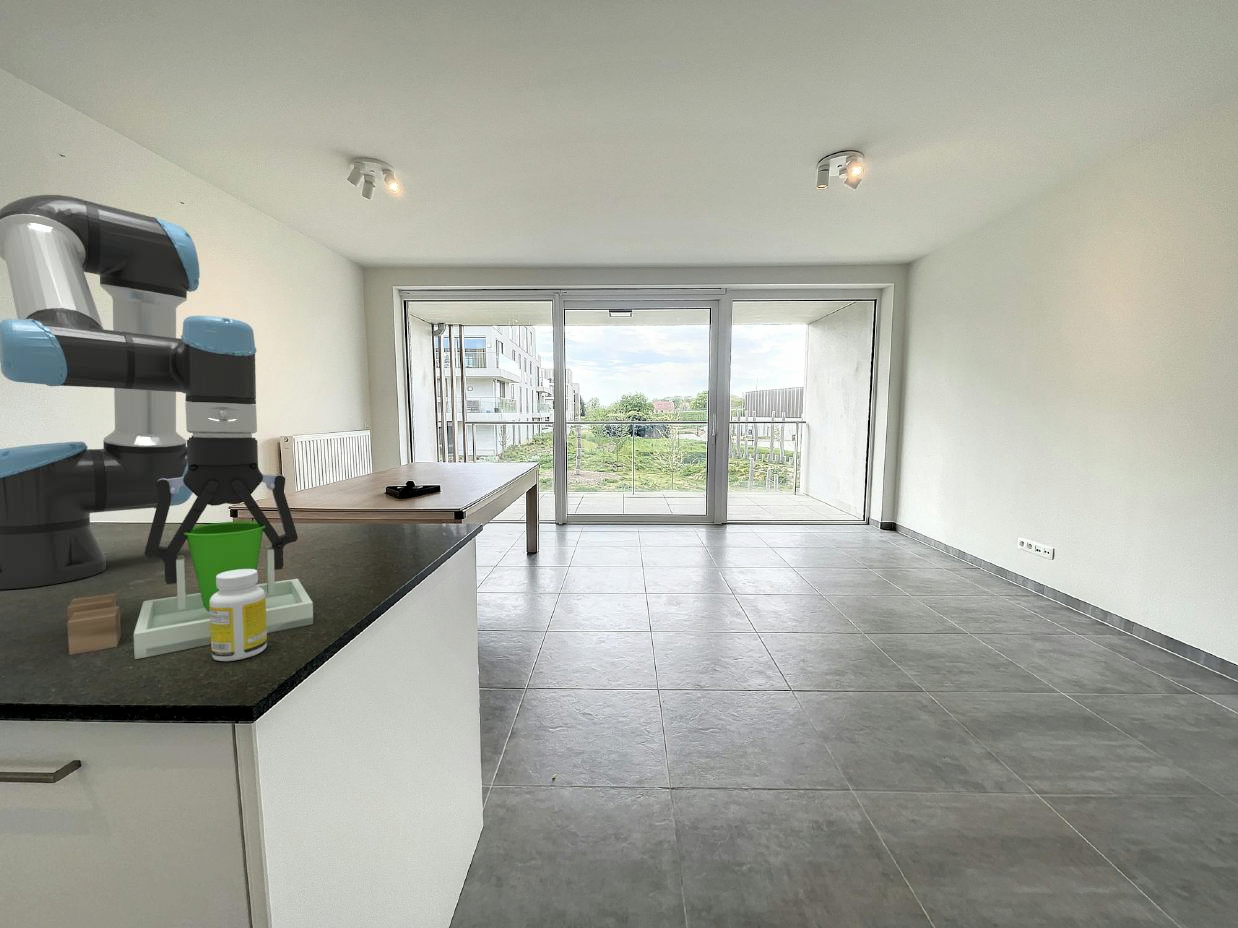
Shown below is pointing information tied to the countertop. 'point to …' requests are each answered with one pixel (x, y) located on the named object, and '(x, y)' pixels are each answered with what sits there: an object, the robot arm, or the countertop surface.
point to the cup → (222, 552)
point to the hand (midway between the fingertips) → (228, 598)
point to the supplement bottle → (237, 616)
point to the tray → (191, 626)
